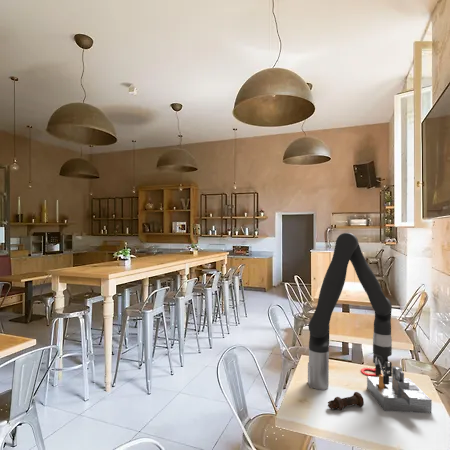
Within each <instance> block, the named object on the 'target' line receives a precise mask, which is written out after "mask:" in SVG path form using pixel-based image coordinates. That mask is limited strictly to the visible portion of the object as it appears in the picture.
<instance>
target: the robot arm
mask: <svg viewBox="0 0 450 450" xmlns="http://www.w3.org/2000/svg"><path fill="white" fill-rule="evenodd" d="M349 263H351V265H352V267H353V269H354V272H355V273H356V277H357V278H358V279H357V280H358V281H359V283H360V284H361V286H362V288H363V290H364V291H365V294H366V295H367V297H368V299H369V300H368V301H369V302H370V305H371V307H372V309H373V311H374V322H373V333H372V334H373V337H372V353H373V354H372V355H373V356H372V363H373V364H374V368H375V372H374V373H375V374H376V375H377V377H379V375H381V374H382V375H383V383H384V384H385V385H388V384H389V377H392V367H393V365H392V364H393V363H392V361H389V357H391V356H392V353H393V352H392V351H393V350H392V349H393V347H392V346H393V342H392V341H393V339H392V323H391V321H392V308H393V307H392V304H393V303H392V302H391V300H390V299H389V298H388V297H386V296H385V294H384V292H383V290H382V286H381V284H380V282H379V280H378V278H377V277H376V275H375V274H374V271H373V270H372V269H371V267H370V265H369V264H368V261H367V260H366V258H365V256H364V254H363V252H362V249H361V246H360V244H359V239H358V238H357V236H356V235H355V234H354V233H351V232H343V233H340V234H339V235H338V236H337V238H336V240H335V245H334V250H333V254H332V258H331V261H330V263H329V266H328V268H327V270H326V273H325V274H324V277H323V280H322V284H321V286H320V291H319V294H318V299H317V304H316V307H315V310H314V313H313V315H312V317H311V318H310V320H309V322H308V332H309V340H308V362H307V383H308V386H309V388H310V389H311V388H312V389H316V390H318V391H320V390H328V388H329V383H330V381H329V379H330V378H329V377H330V376H329V369H330V368H329V367H330V365H329V362H330V323H331V318H332V314H333V312H334V310H335V308H336V306H337V303H338V301H339V300H340V297H341V294H342V292H343V289H344V285H345V282H346V278H347V273H348V272H347V271H348V266H349Z"/></svg>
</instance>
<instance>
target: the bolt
mask: <svg viewBox="0 0 450 450" xmlns="http://www.w3.org/2000/svg"><path fill="white" fill-rule="evenodd" d="M364 403H365V401H364V398H363V395H362V394H361V393H360V392H359V391H354V393H353V395H351V396H347V397H344V398H341V397H340V396H335V397H334V398H333V399H332V400H329V401H328V402H327V407H328V408H329V409H330V410H336V409H337V410H338V411H342V410H343V409H344V408H345V407H350V406H358V407H359V408H362V407H363V406H364V405H365V404H364Z"/></svg>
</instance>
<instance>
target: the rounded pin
mask: <svg viewBox="0 0 450 450" xmlns="http://www.w3.org/2000/svg"><path fill="white" fill-rule="evenodd" d="M378 377H379V389H384V383H383V374H382V375H379V376H378Z"/></svg>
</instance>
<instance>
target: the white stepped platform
mask: <svg viewBox="0 0 450 450" xmlns="http://www.w3.org/2000/svg"><path fill="white" fill-rule="evenodd" d="M404 376H405V372H403V367H401V366H398V365H392V377H391V376H389V384H388V385H385V384H384V389H379V376H366V388H367V390H368V391H369V392H370V395H372V397H373V398H374V400H376V402H377V404H378V405H379V406H380V408H381V409H382V411H384V412H401V413H403V412H404V413H418V414H419V413H421V414H423V413H424V414H432V405H433V404H432V403H433V402H432V398H430V397H429V396H428V395H427V394H426V393H425V392H424V391H423V390H422V389H421V388H420V387H419V386H418V385H417V384H416V383H414V381H412V379H410V378H409V377H404Z"/></svg>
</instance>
